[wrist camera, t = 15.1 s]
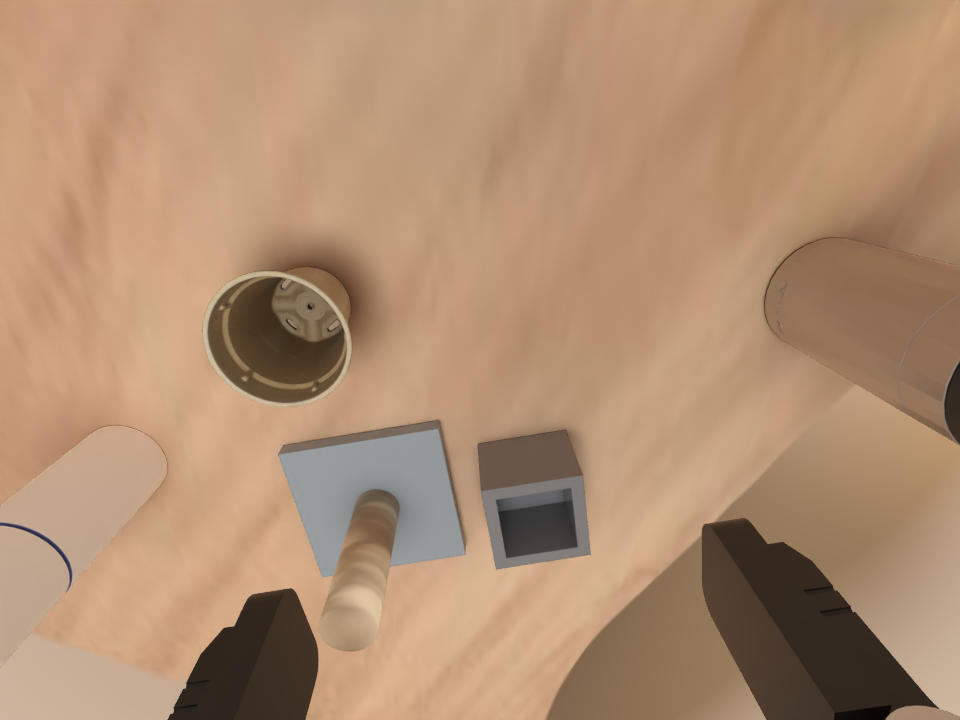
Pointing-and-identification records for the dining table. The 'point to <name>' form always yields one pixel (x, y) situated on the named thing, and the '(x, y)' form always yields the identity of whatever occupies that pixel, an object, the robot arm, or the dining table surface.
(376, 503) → the dowel
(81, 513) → the cylindrical container
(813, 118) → the dining table surface
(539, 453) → the grey open box
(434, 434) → the board
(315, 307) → the flower pot
